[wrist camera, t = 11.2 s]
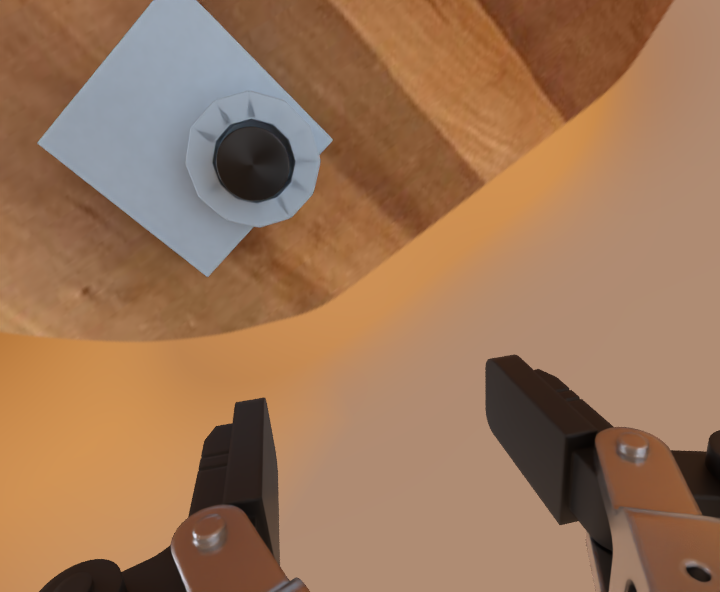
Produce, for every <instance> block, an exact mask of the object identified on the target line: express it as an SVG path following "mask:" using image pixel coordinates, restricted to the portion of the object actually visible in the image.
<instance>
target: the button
mask: <svg viewBox="0 0 720 592" xmlns="http://www.w3.org/2000/svg"><path fill="white" fill-rule="evenodd" d="M216 167H217V172H218V175H219V177H220V180H221V181H222V183H223V184H224V186H225V187H226V188H227V189H228V190H229V191H230V192H231V193H233V194H234V195H236V196H237V197H240V198H242V199H245V200H250V201H261V200H265V199H268V198H270V197H272V196H274V195H275V194H277V193H278V192H279V191H280V190H281V189H282V187H283V186H284V185H285V183H286V181H287V178H288V175H289V170H290V163H289V157H288V153H287V151H286V149H285V147H284V145H283V144H282V142H281V141H280V139H279V138H278V137H277V136H276V135H274V134H273V133H272V132H270V131H268V130H266V129H264V128H260V127H252V126H250V127H242V128H239V129H236V130H234V131H232V132H231V133H230V134H228V135H227V136H226V137H225V138H224V140H223V141H222V142H221V144H220V146H219V148H218V151H217V155H216Z"/></svg>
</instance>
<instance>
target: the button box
mask: <svg viewBox="0 0 720 592" xmlns="http://www.w3.org/2000/svg"><path fill="white" fill-rule="evenodd" d="M250 126H252V127H260V128H264V129H266V130H268V131H270V132H272V133H273V134H274V135H276V136H277V137H278V138H279V139H280V141H281V142H282V144H283V145H284V147H285V149H286V151H287V153H288V157H289V163H290V170H289V175H288V178H287V181H286V183H285V185H284V186H283V187H282V189H281V190H280V191H279V192H278V193H277V194H275V195H274V196H272V197H270V198H268V199H265V200H261V201H250V200H245V199H242V198H240V197H237V196H236V195H234V194H233V193H231V192H230V191H229V190H228V189H227V188H226V187H225V186H224V184H223V183H222V181H221V180H220V177H219V175H218V172H217V167H216V155H217V151H218V148H219V146H220V144H221V142H222V141H223V140H224V138H225V137H226V136H227V135H228V134H230V133H231V132H232V131H234V130H236V129H239V128H242V127H250ZM332 141H333V139H332V138H331V137H330V136H329V135H328V134H327V133H326V132H325V131H324V130H323V129H322V128H321V127H320V126H319V125H318V124H317V123H316V122H315V121H314V120H313V119H312V118H311V117H310V116H309V115H308V114H307V113H306V112H305V111H304V110H303V108H302V107H301V106H300V105H299V104H298V103H297V102H296V101H295V100H294V99H293V98H292V97H291V96H290V95H289V94H288V93H287V92H286V91H285V90H284V89H283V88H282V87H281V86H280V85H279V84H278V83H277V82H276V81H275V80H274V79H273V78H272V77H271V76H270V75H269V74H268V73H267V72H266V71H265V70H264V69H263V68H262V67H261V66H260V65H259V64H258V63H257V62H256V60H255V59H254V58H253V57H252V56H251V55H250V54H249V53H248V52H247V51H246V50H245V49H244V48H243V47H242V46H241V45H240V44H239V43H238V42H237V41H236V40H235V39H234V38H233V37H232V36H231V35H230V34H229V33H228V32H227V31H226V30H225V29H224V28H223V27H222V26H221V25H220V24H219V23H218V22H217V21H216V20H215V19H214V18H213V17H212V16H211V15H210V14H209V12H208V11H207V10H206V9H205V8H204V7H203V6H202V5H201V4H200V3H199V2H198V1H197V0H153V1H152V3H151V4H150V5H149V6H148V7H147V9H146V10H145V11H144V12H143V14H142V15H141V16H140V17H139V18H138V20H137V21H136V22H135V23H134V25H133V26H132V27H131V28H130V29H129V31H128V32H127V33H126V34H125V36H124V37H123V38H122V39H121V41H120V42H119V43H118V44H117V45H116V47H115V48H114V49H113V50H112V52H111V53H110V54H109V55H108V56H107V58H106V59H105V60H104V61H103V63H102V64H101V65H100V66H99V67H98V69H97V70H96V71H95V72H94V74H93V75H92V76H91V77H90V79H89V80H88V81H87V82H86V83H85V85H84V86H83V87H82V88H81V90H80V91H79V92H78V93H77V94H76V96H75V97H74V98H73V99H72V101H71V102H70V103H69V104H68V105H67V107H66V108H65V109H64V110H63V112H62V113H61V114H60V115H59V117H58V118H57V119H56V120H55V121H54V123H53V124H52V125H51V126H50V128H49V129H48V130H47V131H46V132H45V134H44V135H43V136H42V137H41V139H40V140H39V141H38V142H37V143H38V144H39V145H40V146H41V147H43V148H44V149H45V150H46V151H48V152H49V153H50V154H51V155H53V156H54V157H55V158H57V159H58V160H59V161H60V162H62V163H63V164H64V165H65V166H67V167H68V168H69V169H71V170H72V171H73V172H74V173H76V174H77V175H78V176H79V177H81V178H82V179H83V180H85V181H86V182H87V183H88V184H90V185H91V186H92V187H93V188H95V189H96V190H97V191H99V192H100V193H101V194H102V195H104V196H105V197H106V198H107V199H109V200H110V201H111V202H113V203H114V204H115V205H116V206H118V207H119V208H120V209H121V210H123V211H124V212H125V213H127V214H128V215H129V216H130V217H132V218H133V219H134V220H135V221H137V222H138V223H139V224H141V225H142V226H143V227H144V228H146V229H147V230H148V231H149V232H151V233H152V234H153V235H155V236H156V237H157V238H158V239H160V240H161V241H162V242H163V243H165V244H166V245H167V246H169V247H170V248H171V249H172V250H174V251H175V252H176V253H177V254H179V255H180V256H181V257H183V258H184V259H185V260H186V261H188V262H189V263H190V264H191V265H193V266H194V267H195V268H197V269H198V270H199V271H200V272H202V273H203V274H204V275H205V276H207V277H208V276H209V275H210V274H211V273H212V272H213V271H214V270H215V269H216V268H217V267H218V265H219V264H220V263H221V262H222V261H223V260H224V259H225V258H226V257H227V256H228V255H229V253H230V252H231V251H232V250H233V249H234V248H235V247H236V246H237V245H238V244H239V242H240V241H241V240H242V239H243V238H244V237H245V236H246V235H247V234H248V233H249V232H250V230H251V229H252V228H253V227H264V226H267V225H270V224H274V223H277V222H280V221H284V220H287V219H290V218H291V217H293V216H294V214H295V213H296V212H297V211H298V210H299V209H300V208H301V207H302V206H303V205H304V204H305V203H306V201H307V200H308V199H309V198H310V197H311V196H312V195H313V193H314V189H315V184H316V180H317V175H318V171H319V167H320V157H319V155H320V154H321V153H322V152H323V151H324V149H325V148H326V147H327V146H328V145H329V144H330V143H331V142H332Z"/></svg>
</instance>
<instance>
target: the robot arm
mask: <svg viewBox="0 0 720 592" xmlns="http://www.w3.org/2000/svg"><path fill="white" fill-rule="evenodd" d="M486 416H487V420H488V424H489V426H490V429H491V431H492V432H493V434H494V435H495V437H496V438H497V439H498V441H499V442H500V444H501V445H502V446H503V448H504V449H505V451H506V452H507V453H508V454H509V456H510V457H511V459H512V460H513V462H514V463H515V464H516V466H517V467H518V468H519V470H520V471H521V473H522V474H523V475H524V477H525V478H526V479H527V481H528V482H529V483H530V485H531V486H532V487H533V489H534V490H535V492H536V493H537V495H538V496H539V497H540V499H541V500H542V501H543V503H544V504H545V506H546V507H547V508H548V510H549V511H550V512H551V514H552V515H553V516H554V518H555V519H556V521H557V522H558V523H559V525H563V524H567V523H572V522H576V521H579V522H580V523H581V524H582V526H583V527H584V528H585V529H586V531H587V533H586V546H587V551H588V556H589V560H590V566H591V571H592V576H593V581H594V586H595V591H596V592H720V430H719V431H716V432H714V433H713V434H712V435H711V436H710V438H709V442H708V447H707V452H701V451H673V450H670V449H669V447H668V446H667V445H666V444H665V443H664V442H663V441H661V440H660V439H658V438H657V437H655V436H653V435H651V434H650V433H647V432H644V431H641V430H638V429H633V428H627V427H613V426H612V425H611V424H610V423H609V422H607V421H606V420H605V419H604V418H603V417H602V416H600V415H599V414H598V413H597V412H596V411H595V410H593V409H592V408H591V407H590V406H589V405H588V404H587V403H585V402H584V401H583V400H582V399H579V396H578V395H576V394H575V393H574V392H573V391H572V390H569V388H568V387H567V386H566V385H565V384H564V383H563V382H561V381H560V380H559V379H558V378H557V377H555V376H553V375H550V374H548V373H546V372H544V371H542V370H540V369H537V370H533V369H532V368H531V367H530V366H529V365H527V364H526V363H525V362H524V361H523V360H522V359H521V358H520V357H519V356H517V355H510V356H504V357H498V358H492V359H488V361H487V362H486ZM201 456H202V459H201V460H200V465H199V471H198V474H197V479H196V484H195V488H194V493H193V498H192V502H191V507H190V512H189V517H188V518H187V519H186V520H185V521H184V522H183V523H182V524H181V525H180V526H179V527H178V528H177V530H176V532H175V533H174V536H173V538H172V541H171V545H170V546H169V547H168V548H166V549H165V550H164V551H162V552H161V553H159V554H158V555H156V556H154V557H152V558H151V559H149V560H146V561H144V562H142V563H140V564H138V565H136V566H134V567H131V568H129V569H127V570H125V571H123V572H121V571H120V568H119V567H118V565H117V564H115V563H114V562H112V561H109V560H105V559H95V560H89V561H85V562H82V563H79V564H77V565H74V566H72V567H70V568H68V569H66V570H65V571H63V572H61V573H60V574H58V575H57V576H56V577H54V578H53V579H52V580H50V582H48V583H47V584H46V585H45V586H44V587H43V588H42V589H41V590H40V591H39V592H310V591H309V589H308V588H307V587H306V585H305V584H304V583H303V582H302V581H301V580H300V579H299V578H294V579H293V580H291V581H289V579H288V578H287V576H286V575H285V573H284V572H283V570H282V569H281V567H280V558H279V557H280V552H279V506H278V505H279V504H278V470H277V459H276V452H275V446H274V440H273V435H272V429H271V424H270V418H269V413H268V408H267V403H266V399H265V398H259V399H254V400H247V401H242V402H236V403H235V408H234V417H233V423H232V424H226V425H220V426H216V427H215V428H214V429H213V431H212V432H211V433H210V434H209V436H208V437H207V438H206V439H205V441H204V445H203V450H202V455H201Z"/></svg>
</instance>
